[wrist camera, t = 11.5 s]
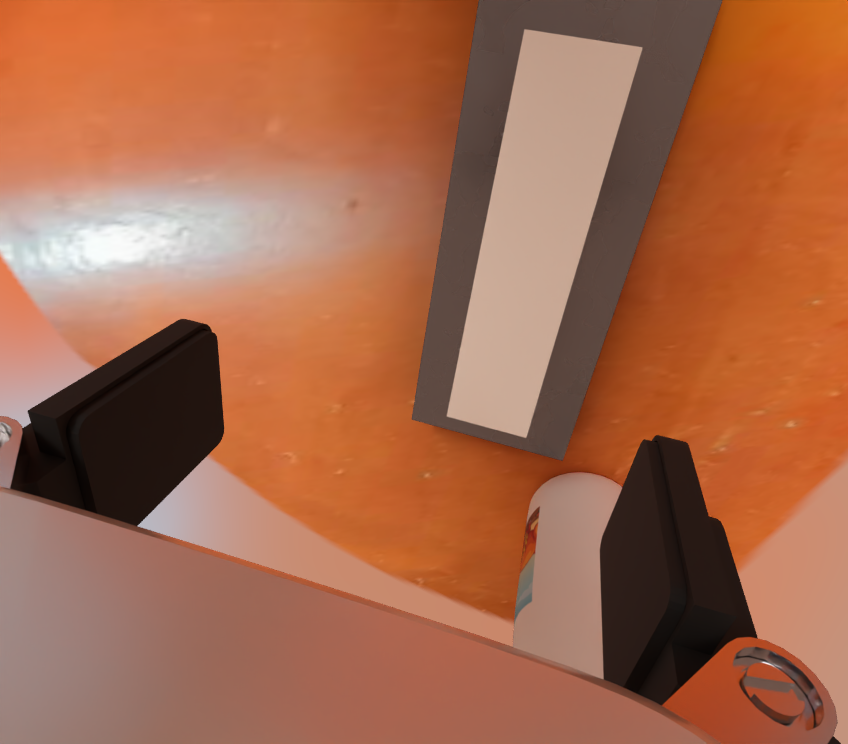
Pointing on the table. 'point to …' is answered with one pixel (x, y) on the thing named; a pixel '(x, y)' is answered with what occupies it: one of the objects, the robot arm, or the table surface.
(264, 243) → the table surface
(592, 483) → the milk bottle
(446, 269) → the grey base board
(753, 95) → the table surface
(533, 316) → the white peg bar
